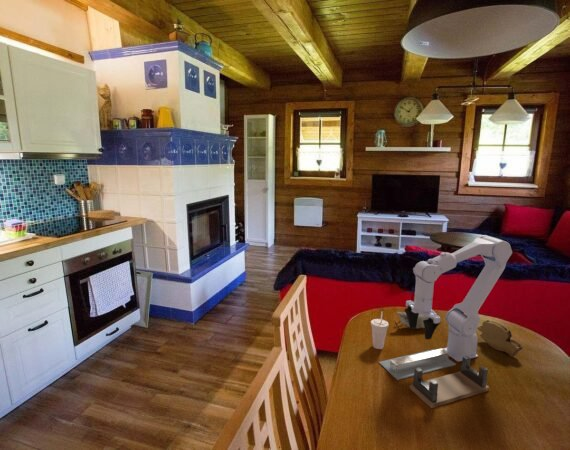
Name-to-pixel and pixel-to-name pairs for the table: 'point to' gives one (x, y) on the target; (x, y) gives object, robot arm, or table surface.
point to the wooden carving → (499, 337)
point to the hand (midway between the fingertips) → (420, 333)
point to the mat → (411, 372)
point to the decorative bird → (406, 323)
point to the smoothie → (379, 332)
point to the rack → (450, 385)
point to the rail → (419, 360)
